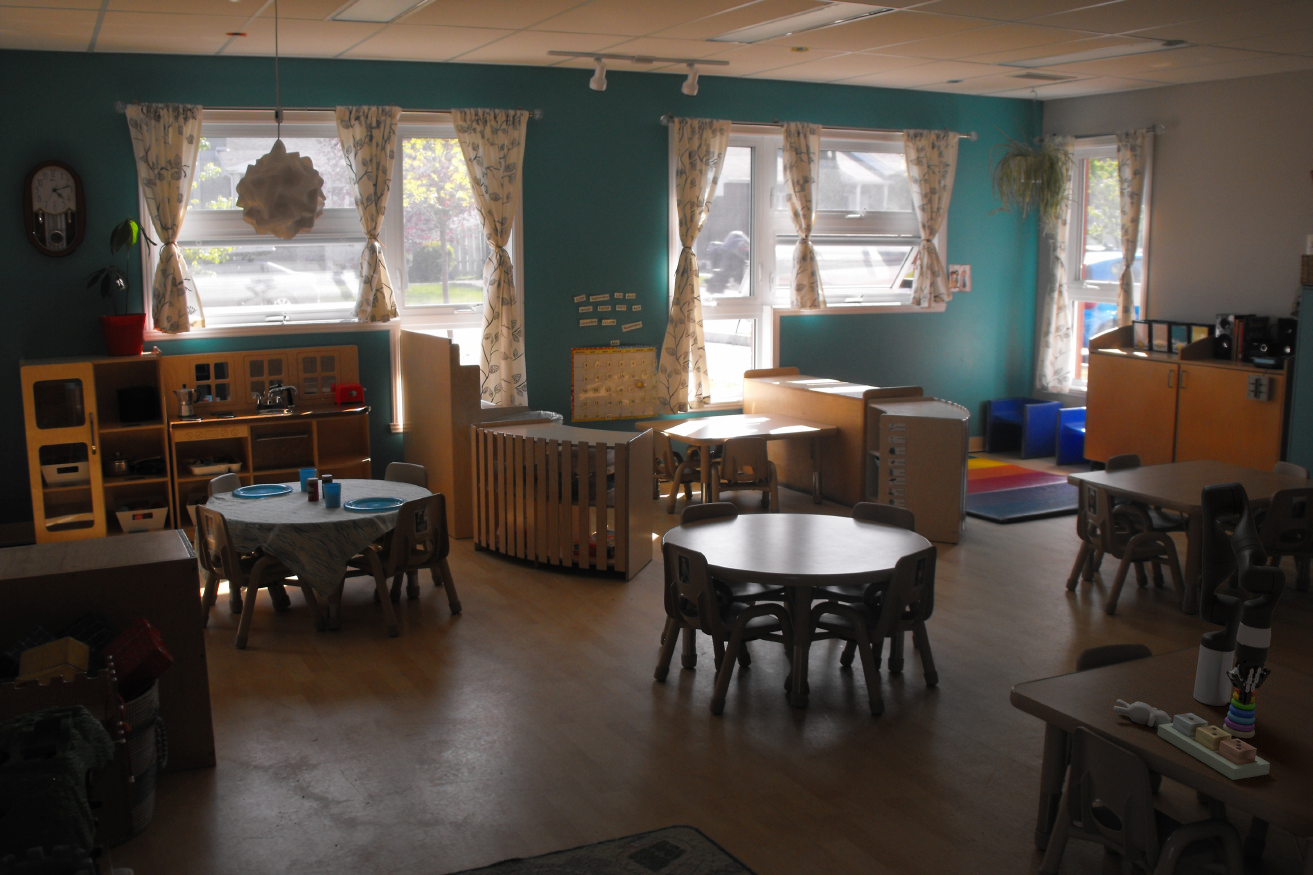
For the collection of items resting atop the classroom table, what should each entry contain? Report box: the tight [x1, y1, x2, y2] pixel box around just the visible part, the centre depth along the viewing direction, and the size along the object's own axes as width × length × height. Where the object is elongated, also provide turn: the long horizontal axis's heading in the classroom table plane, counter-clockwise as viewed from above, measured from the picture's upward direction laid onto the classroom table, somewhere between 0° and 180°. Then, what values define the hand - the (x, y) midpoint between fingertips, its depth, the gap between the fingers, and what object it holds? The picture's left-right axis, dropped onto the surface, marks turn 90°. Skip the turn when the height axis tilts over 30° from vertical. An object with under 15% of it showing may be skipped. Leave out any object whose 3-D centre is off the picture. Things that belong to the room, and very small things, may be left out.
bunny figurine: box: [1112, 698, 1173, 729], centre depth 308 cm, size 10×5×15 cm
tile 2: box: [1195, 725, 1233, 751], centre depth 289 cm, size 6×6×4 cm
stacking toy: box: [1222, 684, 1256, 739], centre depth 301 cm, size 8×8×19 cm
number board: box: [1156, 722, 1271, 781], centre depth 289 cm, size 12×26×3 cm, turn 18°
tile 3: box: [1218, 738, 1258, 765], centre depth 281 cm, size 6×6×4 cm
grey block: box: [1172, 712, 1209, 738], centre depth 296 cm, size 6×6×4 cm
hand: (1244, 703), depth 279 cm, fingers closed
